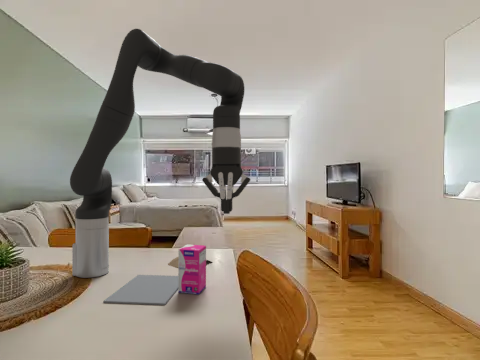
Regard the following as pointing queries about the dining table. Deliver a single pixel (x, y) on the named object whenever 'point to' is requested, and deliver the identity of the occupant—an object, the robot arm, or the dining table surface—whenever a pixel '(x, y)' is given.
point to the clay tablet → (176, 262)
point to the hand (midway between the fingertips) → (226, 213)
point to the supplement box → (192, 269)
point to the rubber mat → (146, 290)
